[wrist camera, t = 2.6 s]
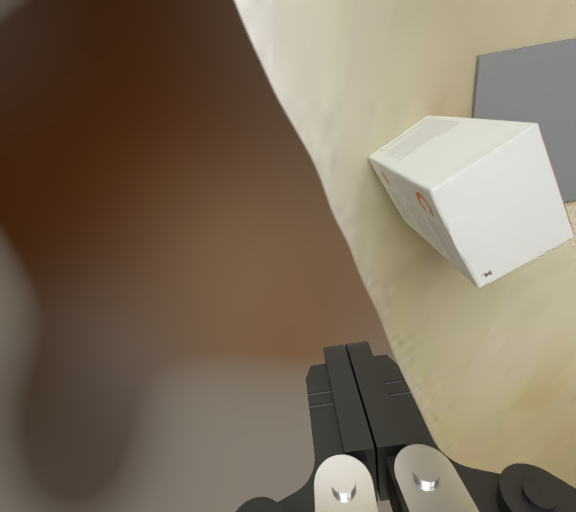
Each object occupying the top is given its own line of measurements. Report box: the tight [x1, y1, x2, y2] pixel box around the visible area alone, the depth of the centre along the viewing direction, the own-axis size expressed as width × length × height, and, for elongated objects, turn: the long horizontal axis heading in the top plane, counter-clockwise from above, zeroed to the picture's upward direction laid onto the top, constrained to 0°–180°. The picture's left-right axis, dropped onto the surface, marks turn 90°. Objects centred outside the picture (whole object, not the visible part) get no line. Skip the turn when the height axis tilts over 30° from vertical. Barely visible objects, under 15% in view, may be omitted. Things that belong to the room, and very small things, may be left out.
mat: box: [472, 38, 576, 202], centre depth 29 cm, size 14×15×1 cm
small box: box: [368, 115, 574, 288], centre depth 24 cm, size 8×6×13 cm
